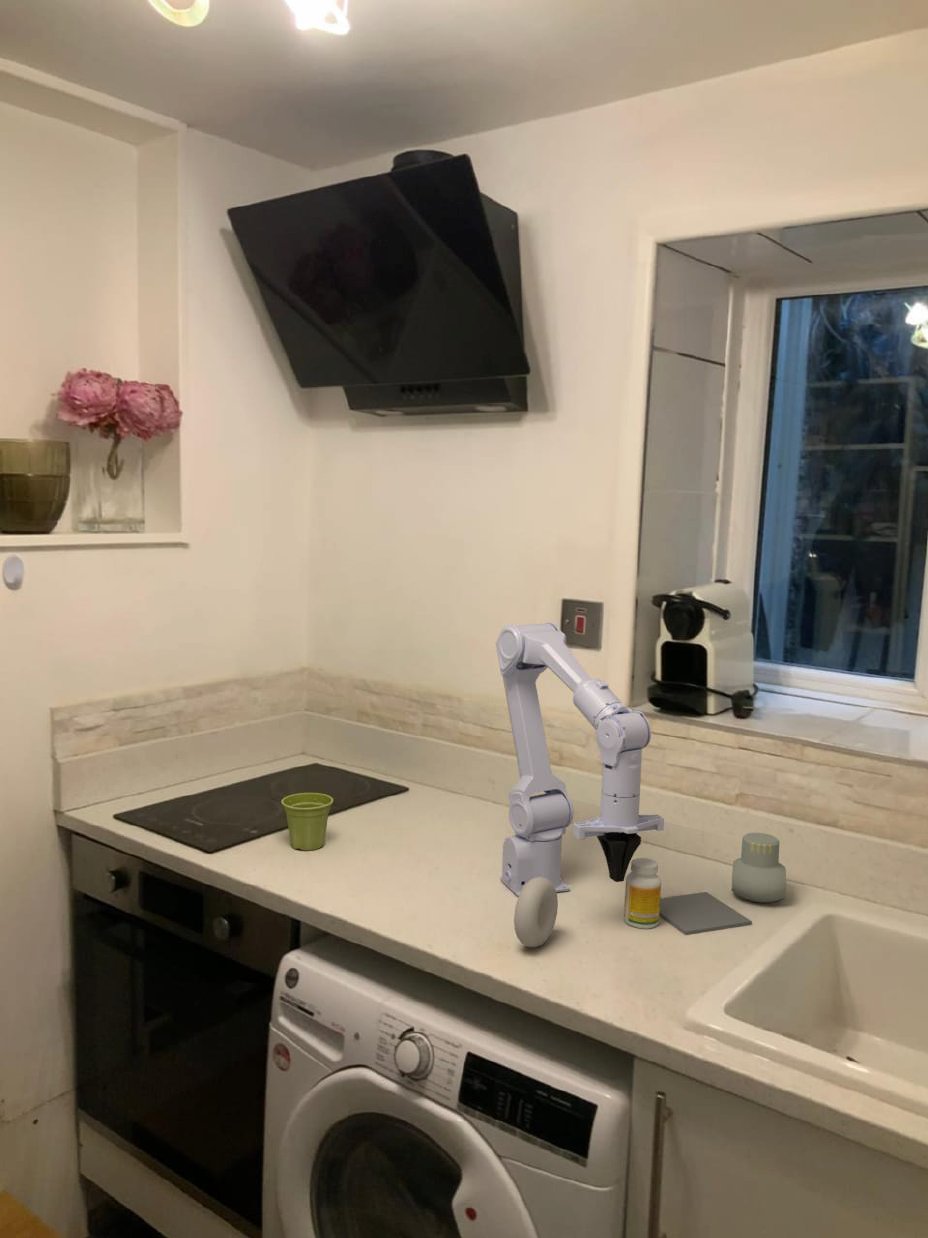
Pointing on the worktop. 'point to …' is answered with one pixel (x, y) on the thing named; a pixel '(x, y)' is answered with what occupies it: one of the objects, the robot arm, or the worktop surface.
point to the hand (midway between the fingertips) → (616, 879)
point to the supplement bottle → (642, 894)
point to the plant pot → (307, 819)
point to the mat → (699, 913)
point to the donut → (535, 912)
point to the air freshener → (759, 869)
